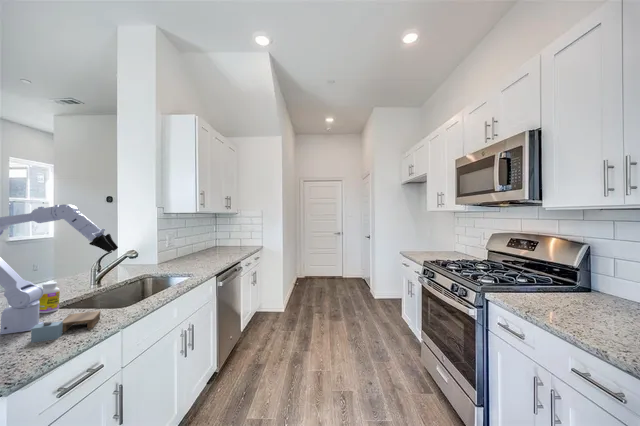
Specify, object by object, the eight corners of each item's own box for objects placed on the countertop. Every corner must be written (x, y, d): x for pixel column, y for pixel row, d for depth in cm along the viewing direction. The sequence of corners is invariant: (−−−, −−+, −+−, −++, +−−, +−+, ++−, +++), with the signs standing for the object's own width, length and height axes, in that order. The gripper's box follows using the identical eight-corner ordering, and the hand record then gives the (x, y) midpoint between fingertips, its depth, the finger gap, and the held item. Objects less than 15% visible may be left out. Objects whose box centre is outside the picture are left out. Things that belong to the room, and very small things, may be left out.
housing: (30, 343, 92) (31, 326, 92) (36, 338, 96) (37, 322, 96) (57, 339, 95) (58, 323, 95) (62, 334, 99) (62, 319, 99)
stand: (59, 332, 100) (59, 323, 100) (69, 322, 109) (69, 314, 109) (93, 328, 105) (93, 319, 105) (100, 318, 113) (100, 310, 114)
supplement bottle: (45, 314, 117) (46, 285, 117) (34, 313, 118) (35, 284, 118) (63, 309, 123) (63, 281, 123) (52, 308, 125) (52, 280, 125)
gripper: (89, 220, 105) (118, 244, 109) (100, 221, 118) (125, 242, 122) (72, 232, 102) (102, 256, 106) (85, 232, 115) (111, 253, 119)
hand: (113, 250), depth 114 cm, fingers open, 7 cm apart
